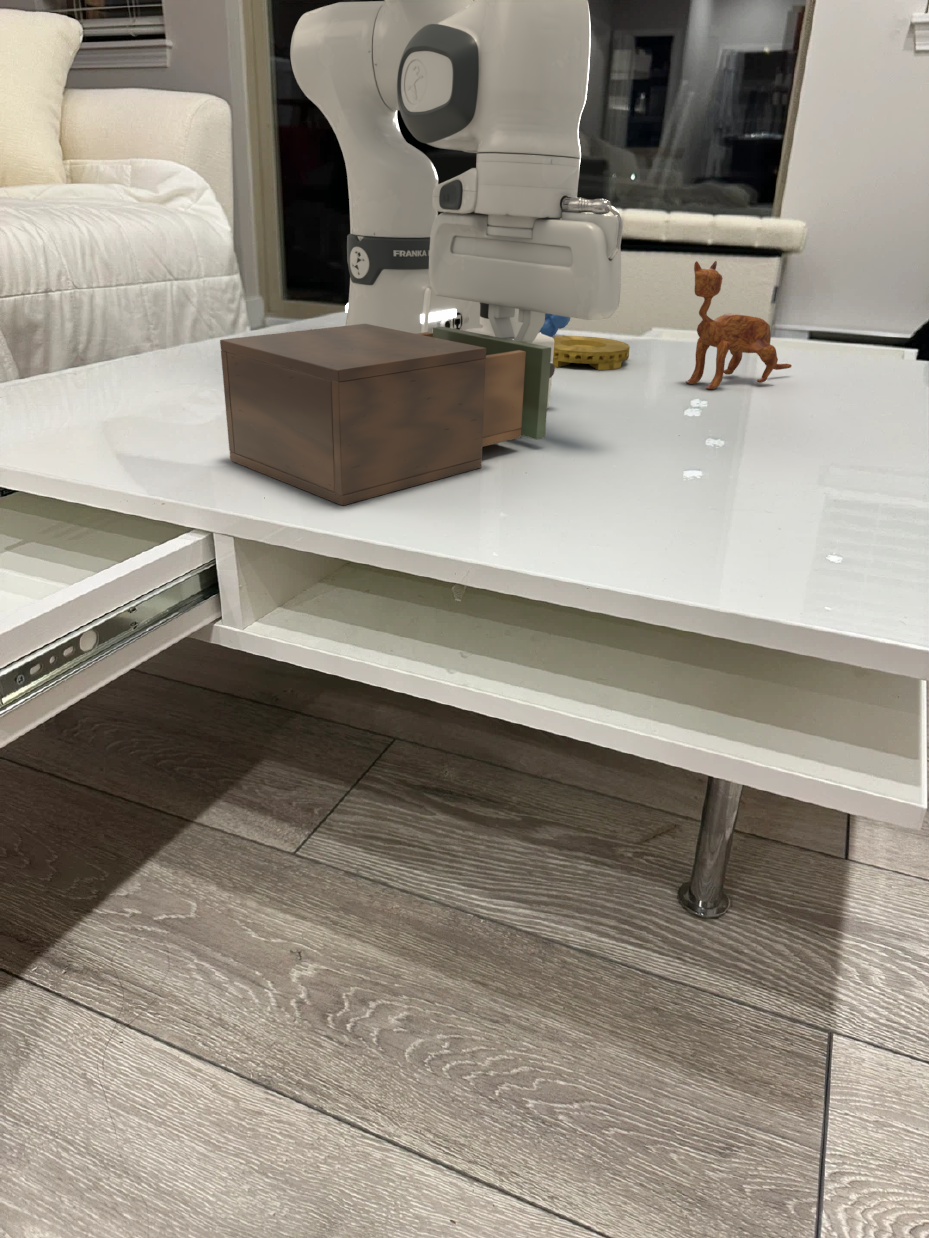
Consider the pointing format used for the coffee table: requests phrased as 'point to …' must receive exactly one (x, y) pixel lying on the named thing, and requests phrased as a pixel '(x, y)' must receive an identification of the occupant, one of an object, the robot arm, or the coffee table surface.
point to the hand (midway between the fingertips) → (513, 359)
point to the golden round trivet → (589, 351)
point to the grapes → (553, 324)
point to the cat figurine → (729, 333)
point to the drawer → (509, 384)
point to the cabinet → (354, 408)
